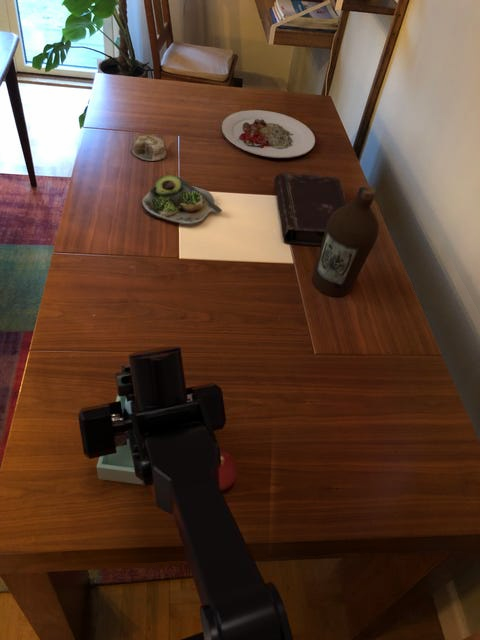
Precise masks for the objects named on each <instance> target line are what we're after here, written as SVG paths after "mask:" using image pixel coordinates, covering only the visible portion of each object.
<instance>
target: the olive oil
mask: <svg viewBox="0 0 480 640" xmlns="http://www.w3.org/2000/svg"><path fill="white" fill-rule="evenodd" d="M376 192H377V190H376V188H374V187H373V186H371V185H369V184H362V185H360V186H359V189H358V191H357V192H356V195H355V197H354V200H353V202H350V203H347V205H345V206H342V207H340V208H338V209H337V210H336V211H335V212H334V213H333V214H332V215H331V217H330V218H329V220H328V222H327V226H326V230H325V233H324V237H323V241H322V245H321V246H320V248H319V253H318V256H317V259H316V263H315V267H314V270H313V273H312V279H311V281H312V284H313V286H314V287H315V288H316V289H317V290H318V291H319V292H320V293H322V294H324V295H326V296H329V297H334V298H338V297H339V298H341V297H345V296H347V295H349V294H350V293H351V291H352V290H353V288H354V285H355V283H356V281H357V279H358V277H359V276H360V273H361V271H362V269H363V267H364V265H365V263H366V261H367V259H368V257H369V255H370V254H371V251H372V249H373V248H374V245H375V243H376V242H377V239H378V237H379V228H380V227H379V222H378V218H377V217H376V215H375V214H374V211H373V210H372V208H371V205H372V204H373V201H374V199H375V195H376Z"/></svg>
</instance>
